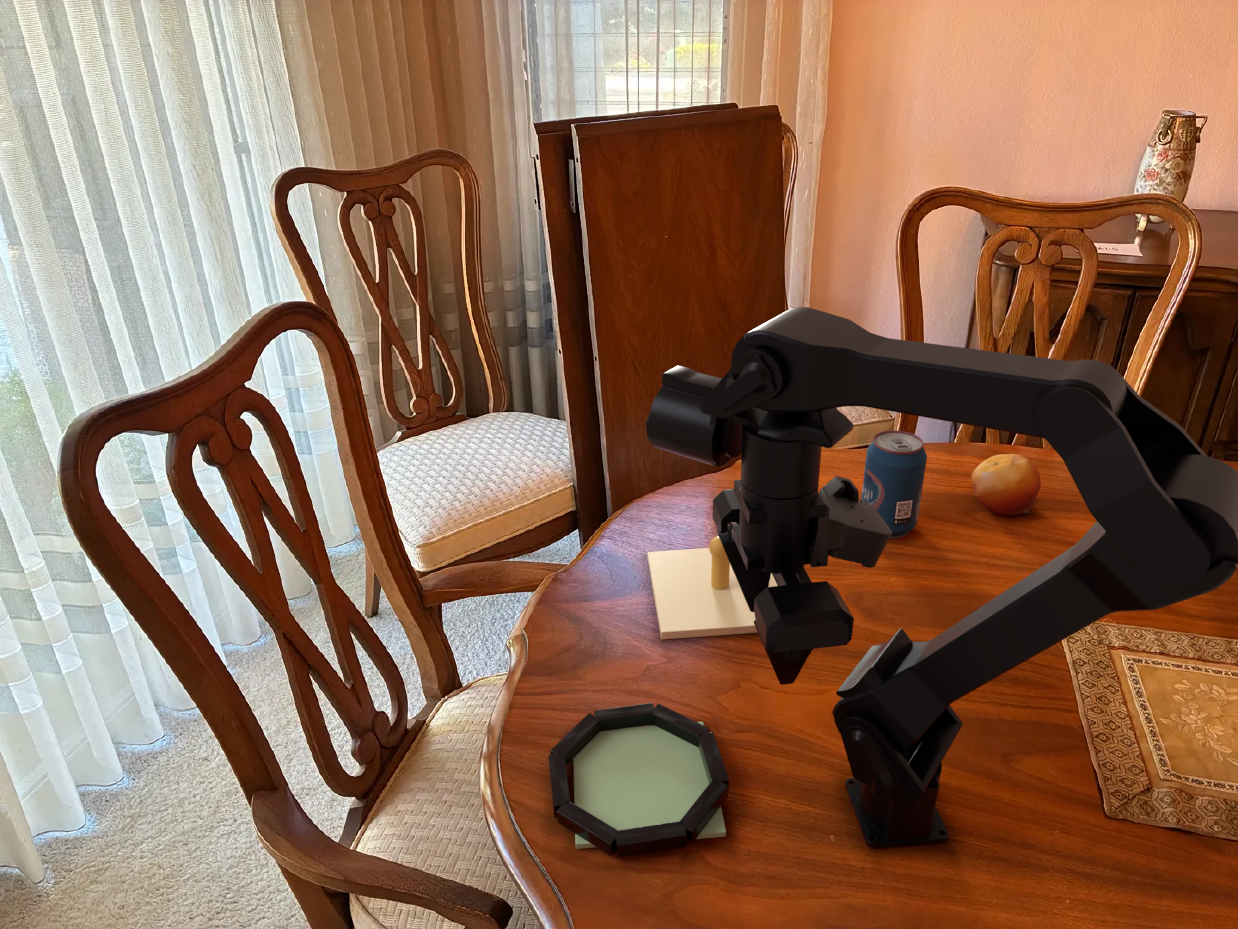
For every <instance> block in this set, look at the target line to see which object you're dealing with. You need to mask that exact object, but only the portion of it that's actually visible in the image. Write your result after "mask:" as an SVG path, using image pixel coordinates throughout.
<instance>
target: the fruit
mask: <svg viewBox="0 0 1238 929" xmlns="http://www.w3.org/2000/svg"><path fill="white" fill-rule="evenodd" d="M970 478H971V486H972V489H973V493H974V494H975V496H976V498H977V500H978V502H979V503H980V504H981V505H982V506H983V507H984V508H986V509H987V510H988V511H989V512H991V513H994V514H996V515H999V516H1015V515H1019V514H1024V513H1026V514H1029V511H1030V509H1032V506H1033V504H1034V503H1035V501H1036V498H1037V497H1038V494H1039V492H1040V490H1041V487H1042V485H1041V484H1042V483H1041V474H1040V471H1039V469H1038V468H1037V467H1036V465H1035V464H1034V463H1033V462H1032V460H1030V459H1029V458H1027V457H1026V456H1024V455H1021V454H1016V453H1009V454H1006V453H1003V454H995V455H992V456H991V457H989V458H987V459H984V460H983V461H982V462H981V463H980V464H978V465H977V466H976V468H974V470H973V471H972V472H971V476H970Z"/></svg>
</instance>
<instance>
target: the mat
mask: <svg viewBox="0 0 1238 929" xmlns="http://www.w3.org/2000/svg"><path fill="white" fill-rule="evenodd" d="M697 722H698V723H700V724H702V725H704V726H705V723H704V721H697ZM572 762H573V763H572V764H573V766H572V767H573V798H574V799H573V800H574V801H573V804H575V805H577V806H578V807H580V808H582V809H583V810H585V811H587V812H588V813H590V814H592V815H593V816H595V817H597V818H598V819H600V820H602V821H603V822H605V823H607V824H608V825H610V826H611V827H613V828H615V829H616V830H624V829H631V828H638V827H644V826H651V825H657V824H664V823H671V822H677V821H680V820H681V819H682V818H683V817H684V815H685V814H686V813H687V811H688V810H689V809H690V808H691V806H692V805H693V804H694V803H695V801H696V800H697V799H698V798H699V796H700V795H701V794H702V792H703V791H704V790H705V789H706V787H707V786H708V785H709V781H708V778H707V774H706V771H705V768H704V765H703V761H702V758H701V755H700V751H699V748H698V747H696V746H694V745H692V744H690V743H688V742H686V741H684V740H682V739H680V738H678V737H677V736H675V735H673V734H671V733H669V732H667V731H665V730H663V729H661V728H659V727H657V726H655V725H653V724H652V725H645V726H637V727H630V728H623V729H616V730H608V731H601V732H599V733H598V734H597V735H596V736H595V737H594V738H593V739H592V740H591V741H590V742H589V743H588V744H587V745H586V746H585V747H584V748H583V749H582V750H581V751H580V752H579V753H578V754H577V755H576V756H575V757H574V758H573V759H572ZM574 837H575V838H574V840H575V849H576V850H580V849H581V850H582V849H592V848H597V847H596V846H594V845H593V844H591V843H589V842H588V841H586V840H585V839H583V838H581V837H580V836H578V835H577V834H575V833H574ZM724 837H725V838H726V837H727V830H726V825H725V820H724V815H723V811H722V806H721V807H720V808H719V809H718V811H717V812H716V813H715V815H714V816H713V817H712V819H711V820H710V821H709V823H708V824H707V825H706V826H705V828H704V829H703V830H702V832H701V833H700V834H699V836H698V837H697V838H696V840H702V839H711V838H712V839H714V838H724Z"/></svg>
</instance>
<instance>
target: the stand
mask: <svg viewBox="0 0 1238 929" xmlns="http://www.w3.org/2000/svg"><path fill="white" fill-rule="evenodd" d="M647 563H648V570H649V575H650V581H651V588H652V593H653V600H654V604H655V611H656V617H657V622H658V629H659V634H660V640H674V639H688V638H702V637H703V638H704V637H716V636H731V635H744V634H756V633H757V634H758V632H757V629H756V627H755V625H754V620H756V619H755V613H754V612H751V611H750V609H749V607H748V605H747V602H746V600H745V597H744V595H743V593H742V590H741V588H740V586H739V583H738V581H737V578H736V576H735V574H734V572H733V569H732V567H731V564H730V562H729V560H728V557H727V555H726V553H725V550H724V548H723V546H722V543H721V541H720V538H719V536H718V535H717V536H714V537H712V539H711V540H710V542H709V544H708V547H703V548H701V547H700V548H689V549H688V548H687V549H673V550H658V551H647ZM773 586H778V585H777V583H776V581H775V579H774V577H773V575H772V573H771V577H770V581H769V586H768V587H773Z"/></svg>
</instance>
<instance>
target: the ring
mask: <svg viewBox="0 0 1238 929" xmlns="http://www.w3.org/2000/svg"><path fill="white" fill-rule="evenodd" d="M698 722H699V721H696V720H693V719H691V718H689V717H687V716H685V715H683V714H681V713H679V712H677V711H675V710H673V709H671V708H668V707H667V706H664V705H663V704H660V703H657V704H656V705H654V703H653V702H647V703H640V704H633V705H632V704H631V705H625V706H617V707H609V708H604V709H603V708H601V709H596V710H593V713H591V712H588V713H587V714H586V715H585V716H584V717H583V718H582V719H581V720H580V721H579V722H578V723H577V724H576V725H575V726H573V728H572V729H571V730H570V731H569V732H568V733H566V734H565V735H564V736H563V737H562V738H561V740H559V741H558V742H557V743H556V744H555V745H554V746H553V747H552V748H551V749H550V750H549V752H550V754H548V756H547V757H548V758H547V759H548V769H549V776H550V778H549V779H550V788H551V798H552V799H551V800H552V806H553V807H552V810H553V817H554V819H556V820H557V823H558V824H559V825H561V826H562V827H564V828H565V829H567V830H569V831H570V832H571V833H573V834H574V835H575V834H577V835H578V836H580V837H581V838H583V839H585V840H586V841H588V842H589V843H591V844H593V845H594V846H596V847H595V848H597V849H599V850H601V851H602V852H603V853H605V854H607V855H609V856H610V857H612V856H613V855H614V854H615V852H616V855H617V856H616V857H617V858H626V857H631V856H638V855H639V856H640V855H645V854H651V853H657V852H664V851H670V850H675V849H682V848H687V847H688V843H691V844H694V842H695V841H696V840H697V839H696V838H697V837H698V836H699V834H700V833H701V832H702V830H703V829H704V828H705V826H706V825H707V824H708V823H709V821H710V820H711V819H712V817H713V816H714V815H715V813H716V812H717V811H718V809H719V808H720V807H721V808H722V806H723V805H724V803H725V802H726V800H727V799H728V797H729V791H730V790H729V789H730V778H729V776H728V773H727V770H726V767H725V764H724V761H723V758H722V755H721V752H720V749H719V745H718V743H717V740H716V737H715V733H714V732H713V731H710V727H708V726H705V724H704V725H702V724H700V723H698ZM652 725H655V726H657V727H659V728H661V729H663V730H665V731H667V732H669V733H671V734H673V735H675V736H677V737H678V738H680V739H682V740H684V741H686V742H688V743H690V744H692V745H694V746H696V747H698V748H699V751H700V755H701V758H702V761H703V765H704V768H705V771H706V774H707V778H708V781H709V785H708V786H707V787H706V789H705V790H704V791H703V792H702V794H701V795H700V796H699V798H698V799H697V800H696V801H695V803H694V804H693V805H692V806H691V808H690V809H689V810H688V811H687V813H686V814H685V815H684V817H683V818H682V819H681V820H680V821H677V822H671V823H664V824H657V825H651V826H644V827H638V828H631V829H624V830H616V829H615V828H613V827H611V826H610V825H608V824H607V823H605V822H603V821H602V820H600V819H598V818H597V817H595V816H593V815H592V814H590V813H588V812H587V811H585V810H583V809H582V808H580V807H578V806H577V805H575V804H574V802H572V801H571V797H570V789H569V781H568V773H567V766H568V764H570V763H571V762H572V761H573V758H574V757H575V756H576V755H577V754H578V753H579V752H580V751H581V750H582V749H583V748H584V747H585V746H586V745H587V744H588V743H589V742H590V741H591V740H592V739H593V738H594V737H595V736H596V735H597V734H598V733H599V732H601V731H608V730H616V729H623V728H630V727H639V726H652Z"/></svg>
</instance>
